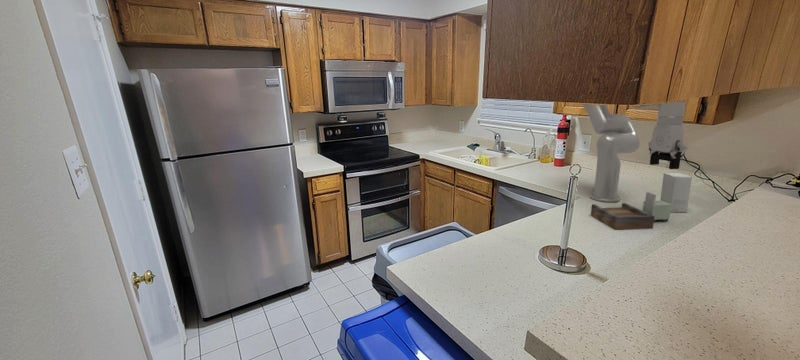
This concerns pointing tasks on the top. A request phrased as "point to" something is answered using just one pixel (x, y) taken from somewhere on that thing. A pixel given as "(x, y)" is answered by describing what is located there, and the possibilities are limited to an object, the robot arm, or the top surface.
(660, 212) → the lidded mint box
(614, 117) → the robot arm
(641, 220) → the brown wooden tray
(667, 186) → the skincare box
